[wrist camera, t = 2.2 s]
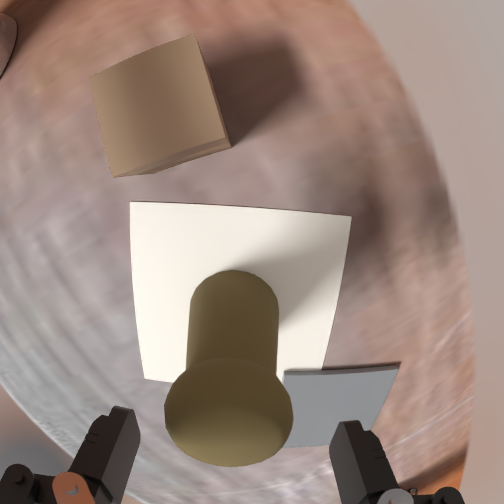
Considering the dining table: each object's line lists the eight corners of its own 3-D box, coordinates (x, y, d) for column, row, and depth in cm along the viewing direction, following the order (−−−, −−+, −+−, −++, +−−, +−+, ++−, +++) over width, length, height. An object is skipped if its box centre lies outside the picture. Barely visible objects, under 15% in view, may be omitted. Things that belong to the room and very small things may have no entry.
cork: (263, 257, 18) (287, 373, 8) (289, 334, 20) (322, 466, 9) (175, 286, 19) (113, 407, 8) (209, 357, 20) (191, 487, 10)
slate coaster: (269, 443, 24) (269, 448, 23) (283, 370, 21) (284, 375, 20) (363, 436, 24) (364, 440, 24) (396, 365, 21) (398, 369, 21)
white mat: (146, 375, 21) (144, 378, 21) (132, 201, 17) (130, 202, 17) (315, 385, 22) (316, 388, 21) (349, 215, 18) (351, 216, 18)
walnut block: (153, 173, 17) (112, 177, 11) (134, 101, 15) (89, 77, 10) (231, 148, 16) (225, 137, 11) (209, 74, 15) (194, 33, 9)
